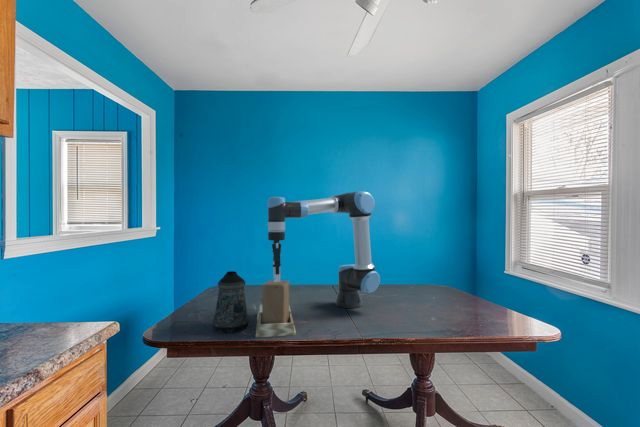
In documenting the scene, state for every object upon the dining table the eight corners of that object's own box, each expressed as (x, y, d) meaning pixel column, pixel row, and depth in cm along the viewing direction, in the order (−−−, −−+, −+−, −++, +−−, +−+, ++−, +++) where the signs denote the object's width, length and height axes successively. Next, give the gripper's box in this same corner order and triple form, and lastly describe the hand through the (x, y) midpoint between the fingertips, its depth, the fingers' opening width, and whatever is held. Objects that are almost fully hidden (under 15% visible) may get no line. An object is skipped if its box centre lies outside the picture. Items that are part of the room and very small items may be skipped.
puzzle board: (290, 312, 164) (290, 303, 165) (296, 335, 133) (296, 323, 133) (257, 314, 162) (257, 304, 162) (255, 337, 130) (255, 325, 130)
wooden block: (283, 331, 134) (284, 285, 134) (261, 330, 135) (261, 284, 136) (289, 323, 144) (289, 280, 144) (268, 322, 145) (268, 279, 145)
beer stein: (229, 337, 131) (230, 277, 131) (199, 327, 141) (200, 272, 141) (257, 325, 145) (257, 271, 145) (228, 318, 155) (228, 267, 155)
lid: (288, 303, 162) (288, 296, 162) (290, 312, 147) (291, 304, 147) (259, 305, 159) (259, 297, 159) (259, 314, 145) (259, 305, 145)
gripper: (267, 230, 152) (268, 273, 151) (268, 233, 127) (268, 285, 127) (283, 229, 153) (283, 273, 153) (286, 232, 128) (286, 284, 128)
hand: (276, 278), depth 140 cm, fingers open, 13 cm apart
